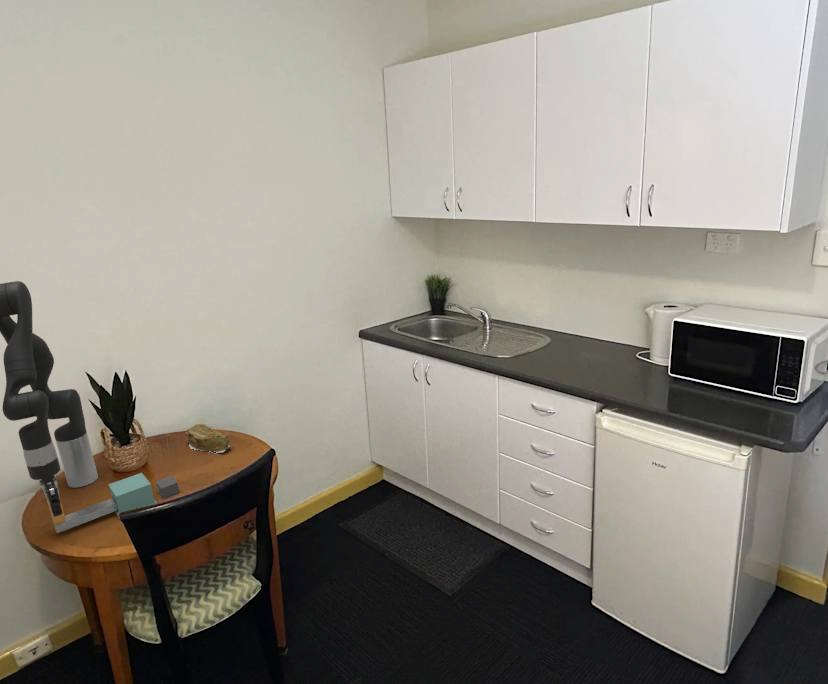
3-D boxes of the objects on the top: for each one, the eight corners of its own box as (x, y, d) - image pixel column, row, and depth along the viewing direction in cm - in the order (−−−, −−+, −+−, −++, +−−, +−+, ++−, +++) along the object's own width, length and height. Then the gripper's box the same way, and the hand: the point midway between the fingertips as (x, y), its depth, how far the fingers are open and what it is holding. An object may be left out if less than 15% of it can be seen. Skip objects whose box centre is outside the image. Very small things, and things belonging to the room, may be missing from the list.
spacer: (155, 481, 188) (171, 475, 191) (158, 492, 190) (173, 486, 193) (161, 488, 184) (177, 482, 187) (163, 499, 185) (179, 493, 188)
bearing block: (111, 505, 184) (106, 484, 181) (147, 491, 190) (143, 471, 188) (120, 519, 175) (114, 498, 173) (157, 505, 182) (153, 484, 180)
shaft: (54, 527, 171) (44, 493, 168) (133, 497, 184) (125, 465, 181) (57, 533, 168) (47, 498, 165) (137, 502, 181) (129, 470, 178)
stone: (239, 446, 217) (237, 430, 215) (218, 458, 209) (215, 442, 208) (202, 435, 229) (199, 420, 227) (180, 446, 221) (177, 430, 219)
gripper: (22, 455, 167) (38, 506, 172) (29, 473, 156) (45, 527, 161) (52, 446, 171) (66, 496, 176) (61, 462, 161) (76, 516, 166)
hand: (56, 511), depth 169 cm, fingers open, 4 cm apart
